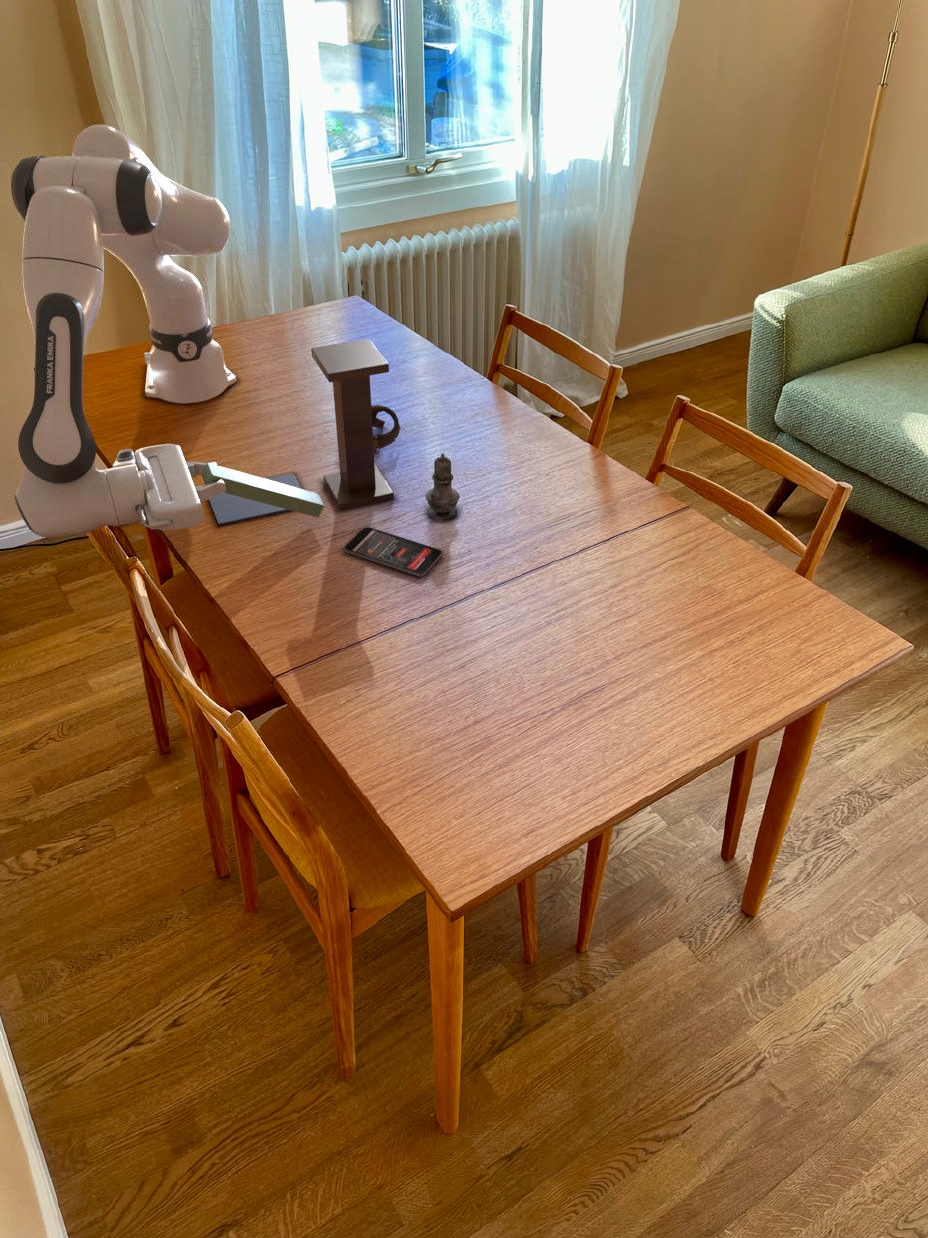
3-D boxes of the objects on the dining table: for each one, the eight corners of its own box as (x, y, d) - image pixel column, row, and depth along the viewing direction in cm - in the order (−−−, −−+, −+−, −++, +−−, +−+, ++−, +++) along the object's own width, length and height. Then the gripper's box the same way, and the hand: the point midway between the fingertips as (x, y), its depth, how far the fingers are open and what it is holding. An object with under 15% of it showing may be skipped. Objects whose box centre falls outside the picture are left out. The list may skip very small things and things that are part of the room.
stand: (323, 482, 172) (311, 347, 155) (376, 471, 175) (369, 338, 158) (340, 511, 165) (328, 373, 148) (394, 499, 168) (388, 363, 151)
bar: (201, 475, 151) (207, 462, 150) (312, 505, 163) (317, 493, 162) (206, 488, 148) (212, 474, 147) (318, 517, 160) (324, 505, 159)
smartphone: (422, 575, 150) (342, 548, 155) (422, 578, 151) (342, 552, 156) (443, 550, 155) (365, 525, 160) (443, 554, 156) (365, 529, 161)
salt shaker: (447, 526, 162) (448, 466, 154) (419, 515, 164) (418, 455, 157) (465, 510, 166) (467, 450, 158) (437, 499, 168) (437, 440, 160)
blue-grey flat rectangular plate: (205, 492, 169) (205, 490, 169) (293, 474, 174) (293, 472, 173) (218, 525, 161) (218, 523, 161) (309, 506, 166) (309, 504, 166)
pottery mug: (397, 428, 188) (405, 405, 181) (391, 468, 184) (399, 446, 177) (337, 414, 186) (343, 390, 178) (330, 455, 182) (336, 432, 175)
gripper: (137, 512, 137) (232, 493, 141) (118, 444, 151) (205, 429, 155) (146, 547, 141) (238, 527, 145) (127, 478, 155) (211, 462, 160)
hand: (221, 476), depth 150 cm, fingers closed on bar, 4 cm apart
